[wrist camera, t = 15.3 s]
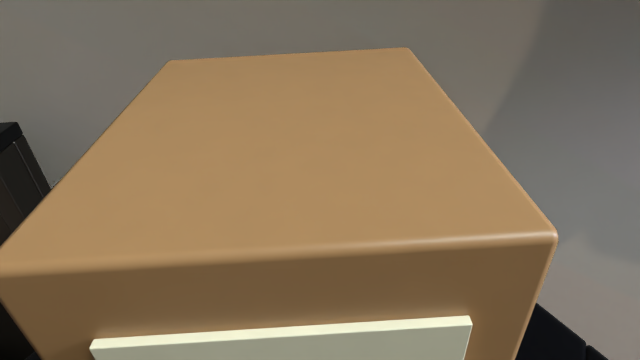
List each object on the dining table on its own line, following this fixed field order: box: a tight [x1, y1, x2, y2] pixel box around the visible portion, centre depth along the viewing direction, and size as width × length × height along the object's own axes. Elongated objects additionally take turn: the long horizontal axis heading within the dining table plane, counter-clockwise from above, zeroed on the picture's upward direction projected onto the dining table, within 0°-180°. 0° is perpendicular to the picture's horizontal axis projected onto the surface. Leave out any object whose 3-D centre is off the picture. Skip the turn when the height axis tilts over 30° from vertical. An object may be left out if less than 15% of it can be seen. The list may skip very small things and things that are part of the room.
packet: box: [0, 47, 558, 360], centre depth 7 cm, size 4×6×5 cm
